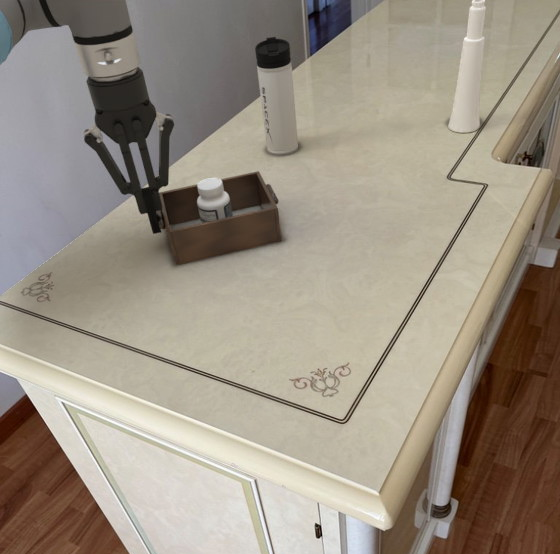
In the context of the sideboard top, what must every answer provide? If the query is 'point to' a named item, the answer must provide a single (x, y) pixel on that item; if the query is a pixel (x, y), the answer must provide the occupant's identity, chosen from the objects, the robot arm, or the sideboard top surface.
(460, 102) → the cosmetic bottle
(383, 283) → the sideboard top surface
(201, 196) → the pill bottle
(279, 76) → the travel mug
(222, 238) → the brown wooden open box
